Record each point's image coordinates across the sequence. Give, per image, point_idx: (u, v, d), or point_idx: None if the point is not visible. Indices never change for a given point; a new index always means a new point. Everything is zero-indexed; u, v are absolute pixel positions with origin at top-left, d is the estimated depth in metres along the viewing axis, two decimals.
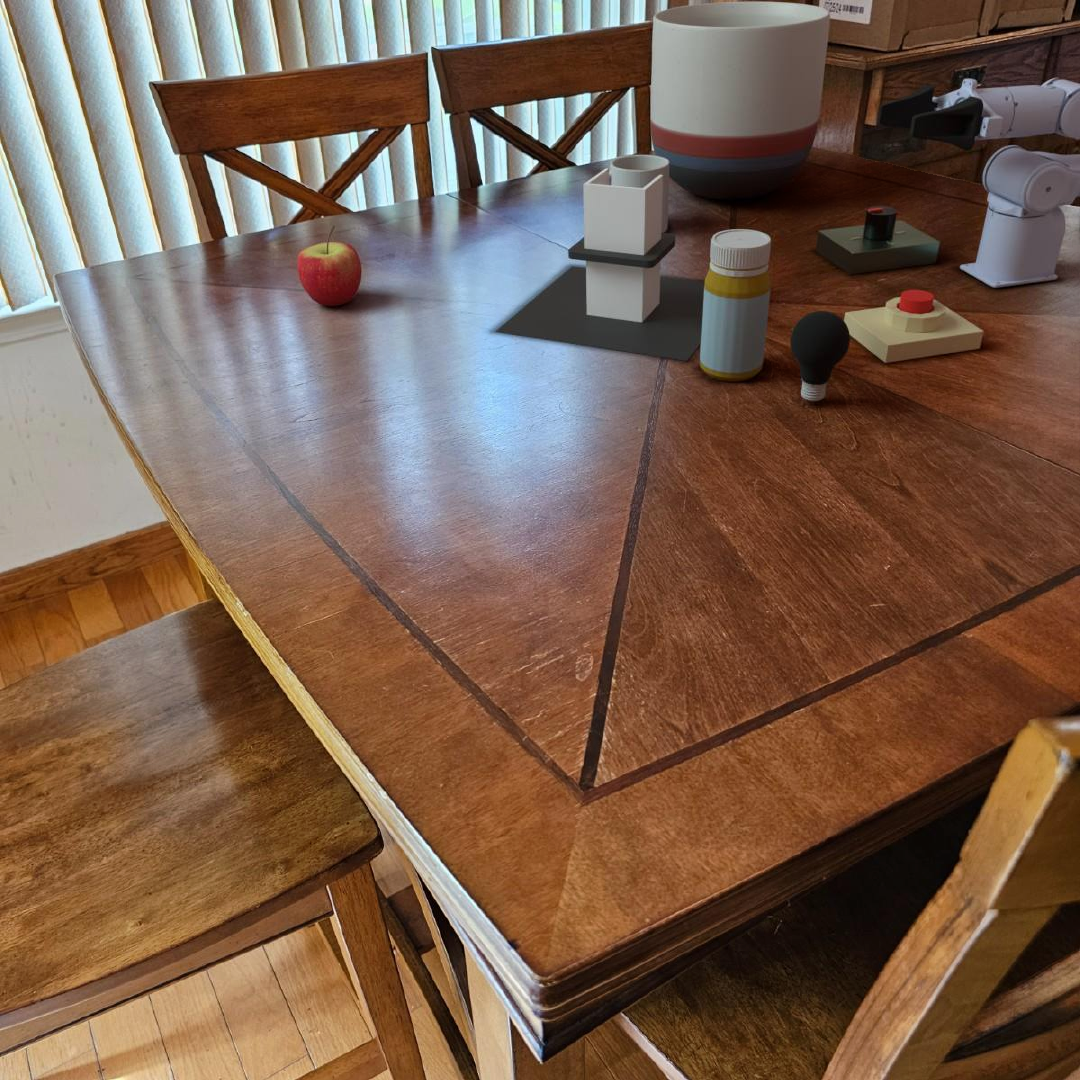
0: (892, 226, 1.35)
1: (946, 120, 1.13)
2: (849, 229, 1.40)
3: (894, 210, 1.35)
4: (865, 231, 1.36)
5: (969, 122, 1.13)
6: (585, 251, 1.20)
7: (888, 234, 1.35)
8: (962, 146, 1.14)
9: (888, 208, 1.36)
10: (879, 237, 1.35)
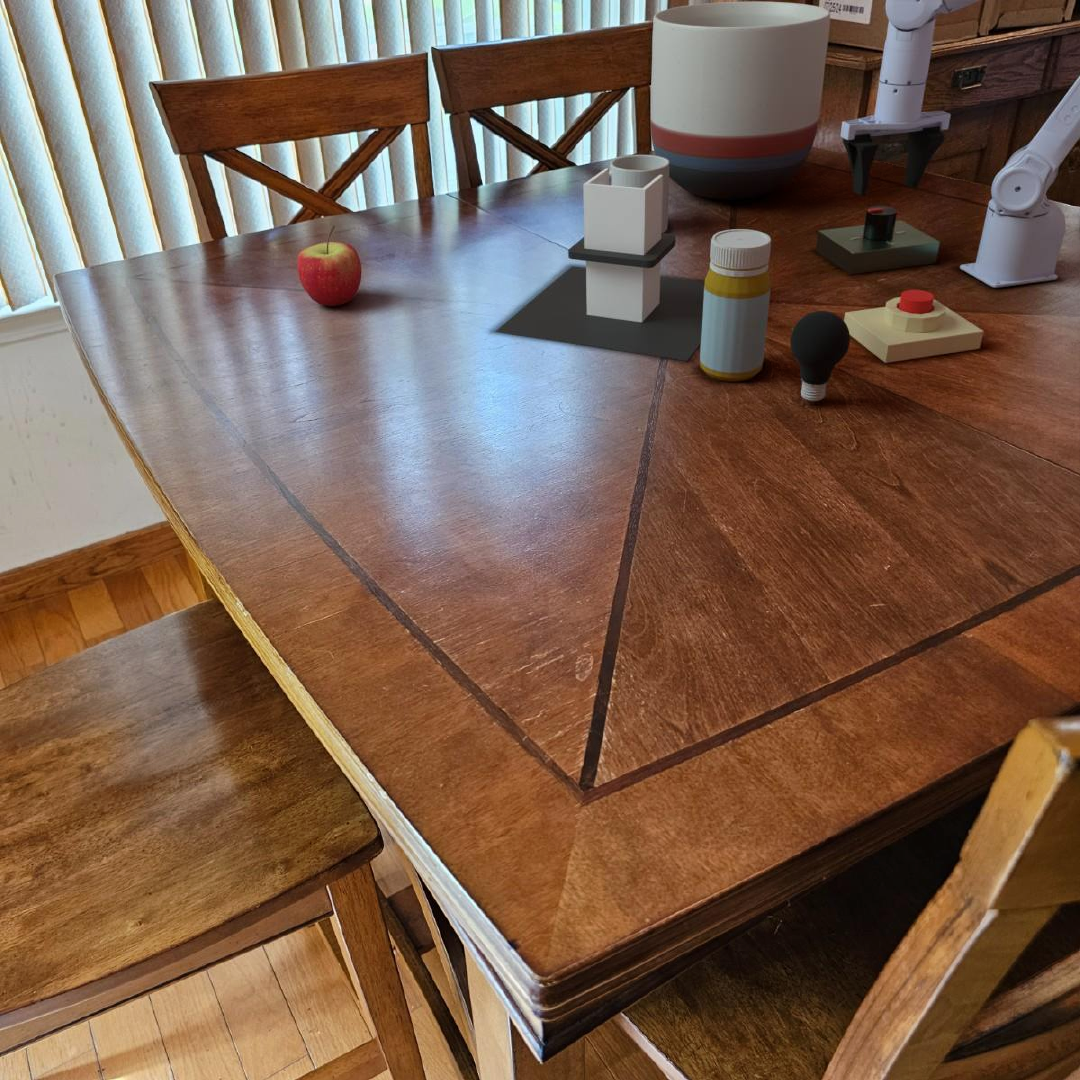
0: (892, 226, 1.35)
1: (858, 162, 1.31)
2: (849, 229, 1.40)
3: (894, 210, 1.35)
4: (865, 231, 1.36)
5: None
6: (585, 251, 1.20)
7: (888, 234, 1.35)
8: (861, 153, 1.28)
9: (888, 208, 1.36)
10: (879, 237, 1.35)
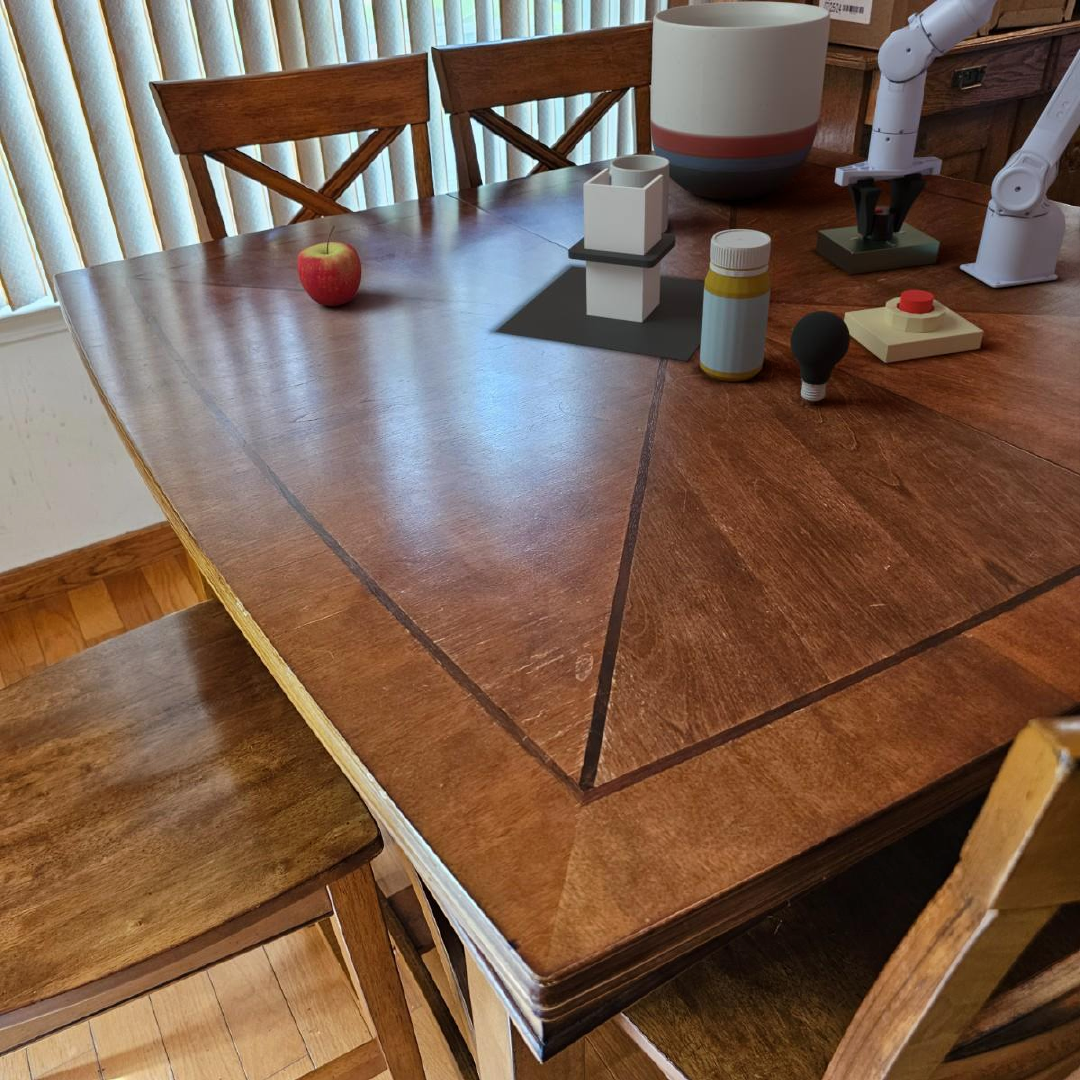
0: (892, 226, 1.35)
1: (862, 205, 1.35)
2: (849, 229, 1.40)
3: (894, 210, 1.35)
4: None
5: None
6: (585, 251, 1.20)
7: (888, 234, 1.35)
8: (865, 198, 1.31)
9: (888, 208, 1.36)
10: (879, 237, 1.35)
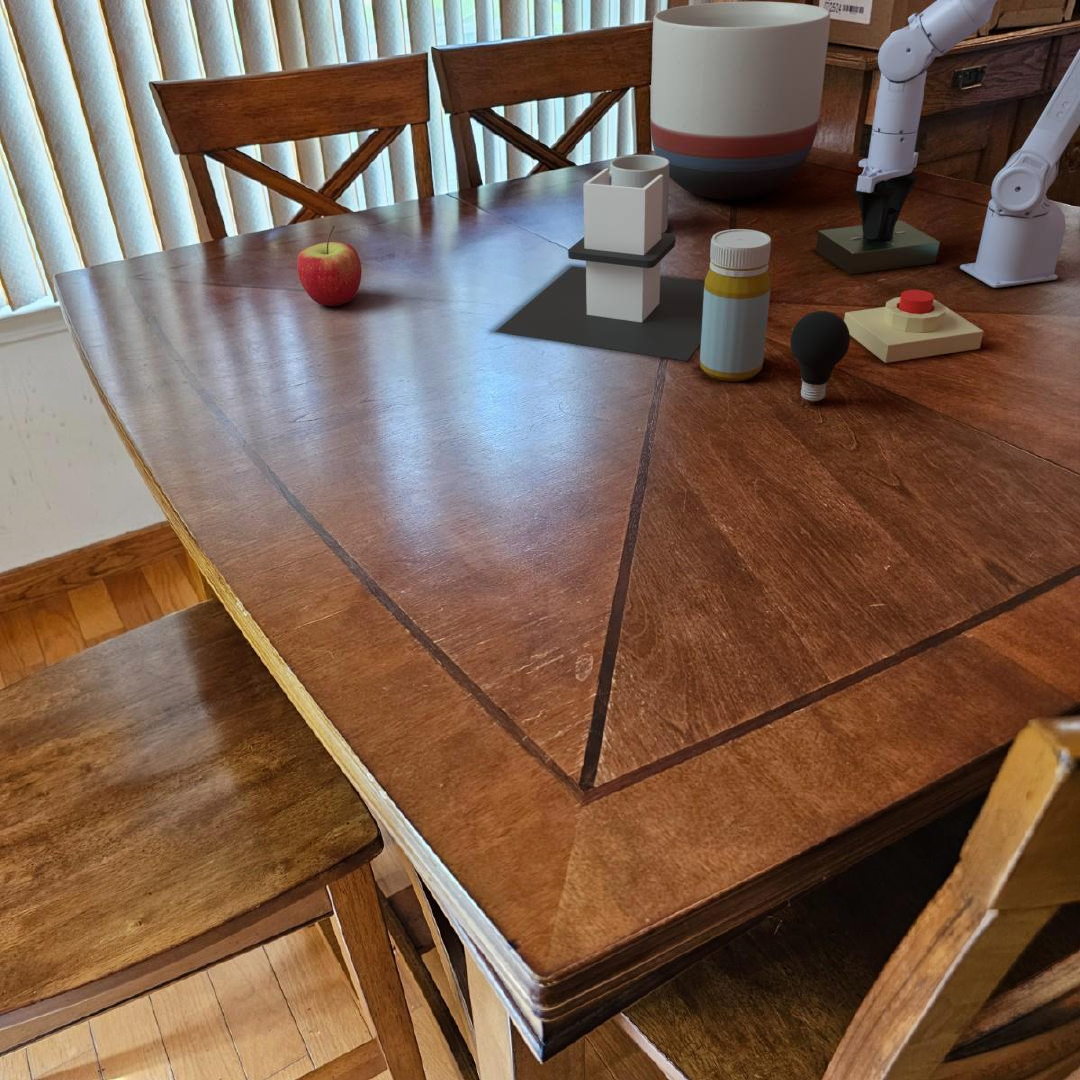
0: None
1: (870, 208, 1.33)
2: (849, 229, 1.40)
3: (891, 208, 1.36)
4: None
5: None
6: (585, 251, 1.20)
7: (893, 232, 1.36)
8: (887, 200, 1.30)
9: None
10: (887, 236, 1.35)
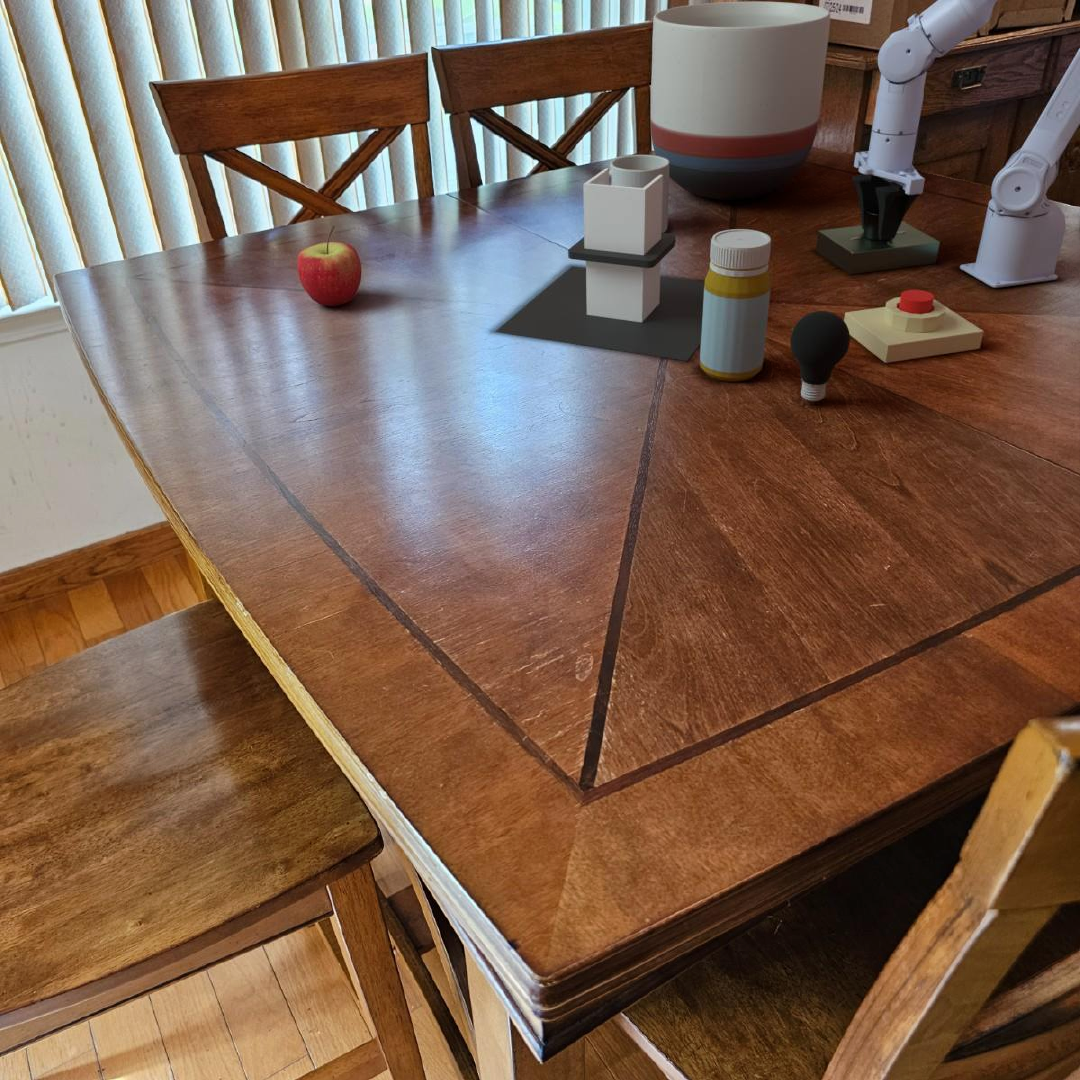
0: None
1: (889, 211, 1.32)
2: (849, 229, 1.40)
3: None
4: None
5: None
6: (585, 251, 1.20)
7: None
8: (915, 198, 1.31)
9: (874, 208, 1.36)
10: None
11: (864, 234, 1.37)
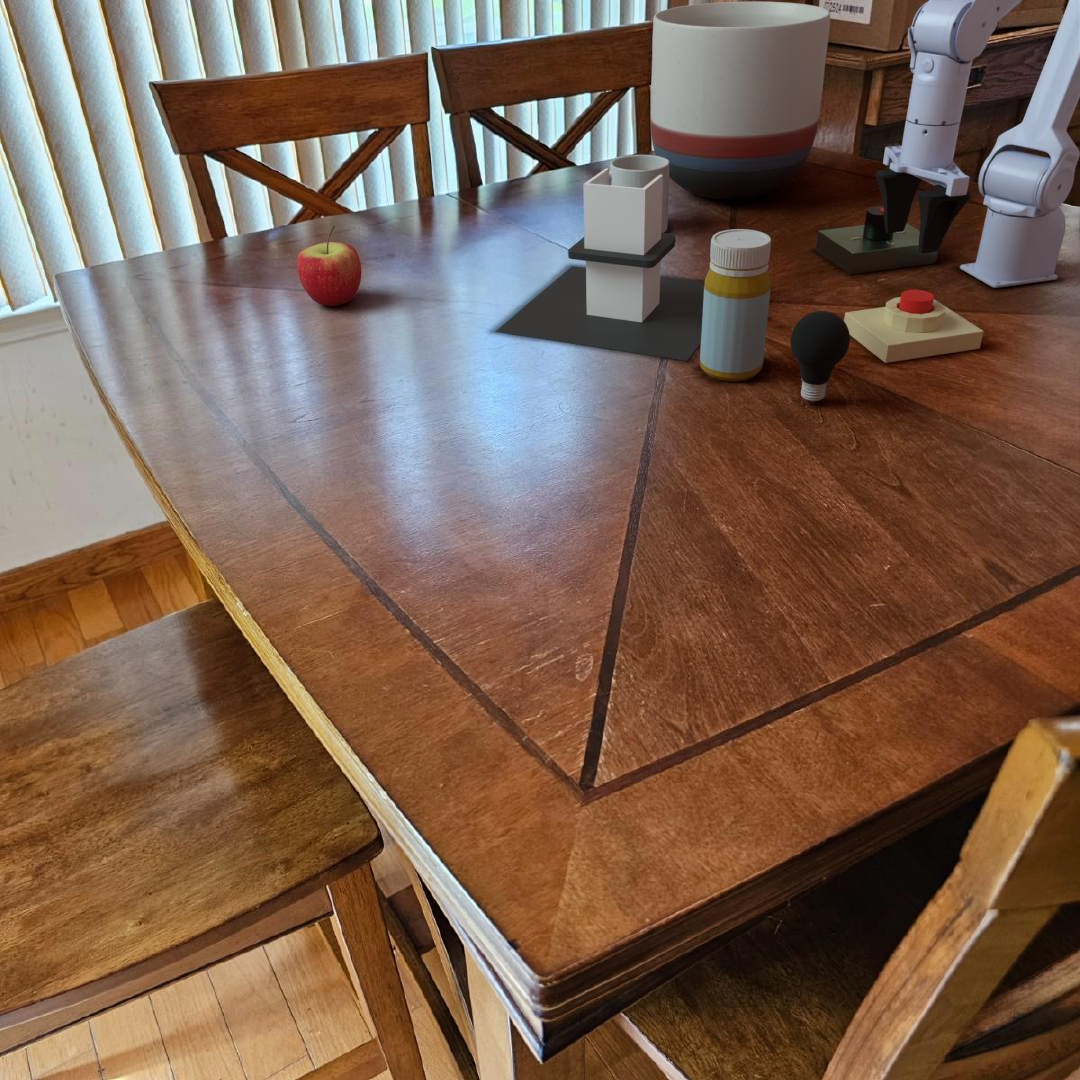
0: None
1: (933, 219, 1.11)
2: (849, 229, 1.40)
3: (880, 206, 1.36)
4: (885, 234, 1.35)
5: None
6: (585, 251, 1.20)
7: None
8: None
9: (874, 208, 1.36)
10: (893, 233, 1.37)
11: (864, 234, 1.37)
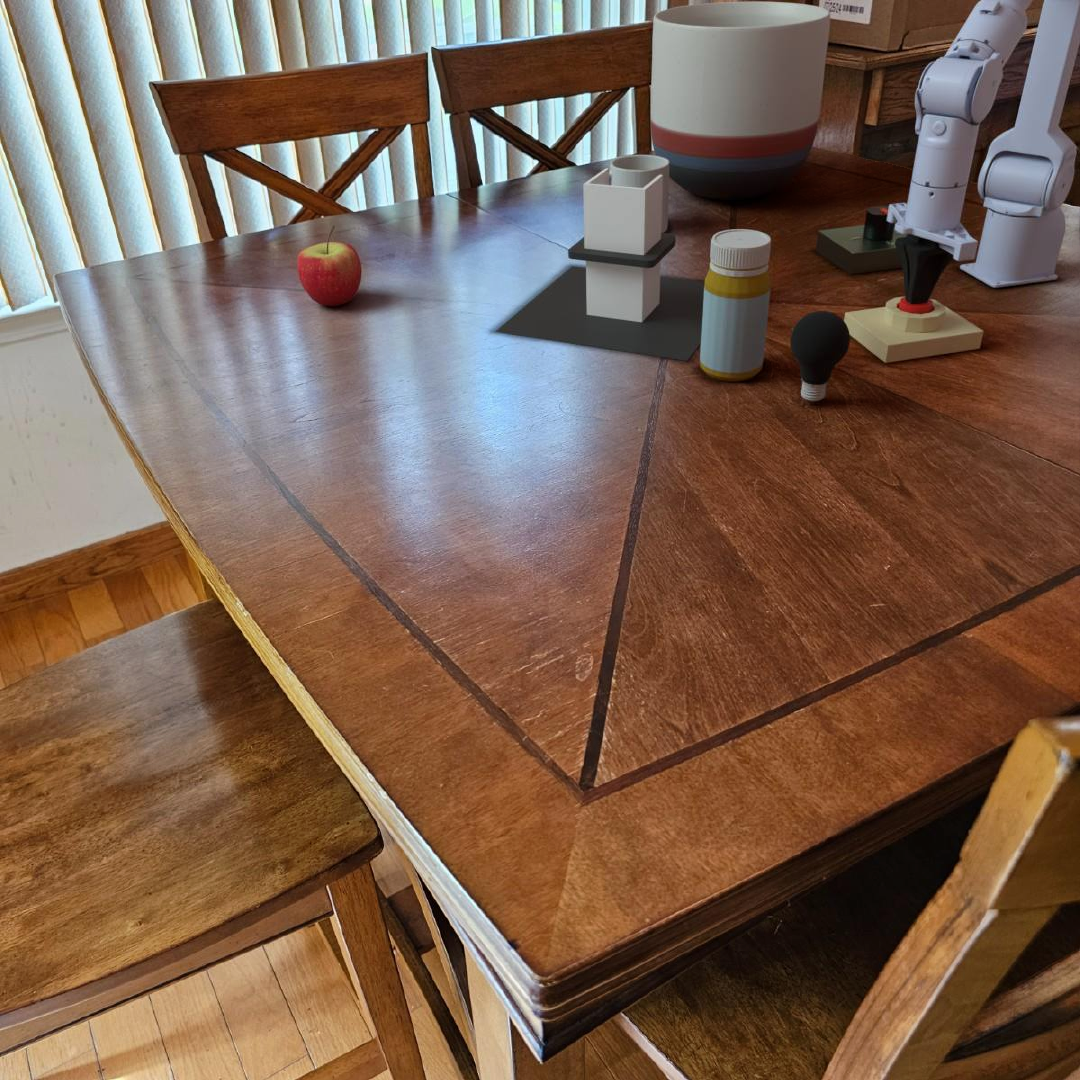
0: None
1: (922, 271, 1.11)
2: (849, 229, 1.40)
3: (880, 206, 1.36)
4: (885, 234, 1.35)
5: None
6: (585, 251, 1.20)
7: None
8: None
9: (874, 208, 1.36)
10: (893, 233, 1.37)
11: (864, 234, 1.37)
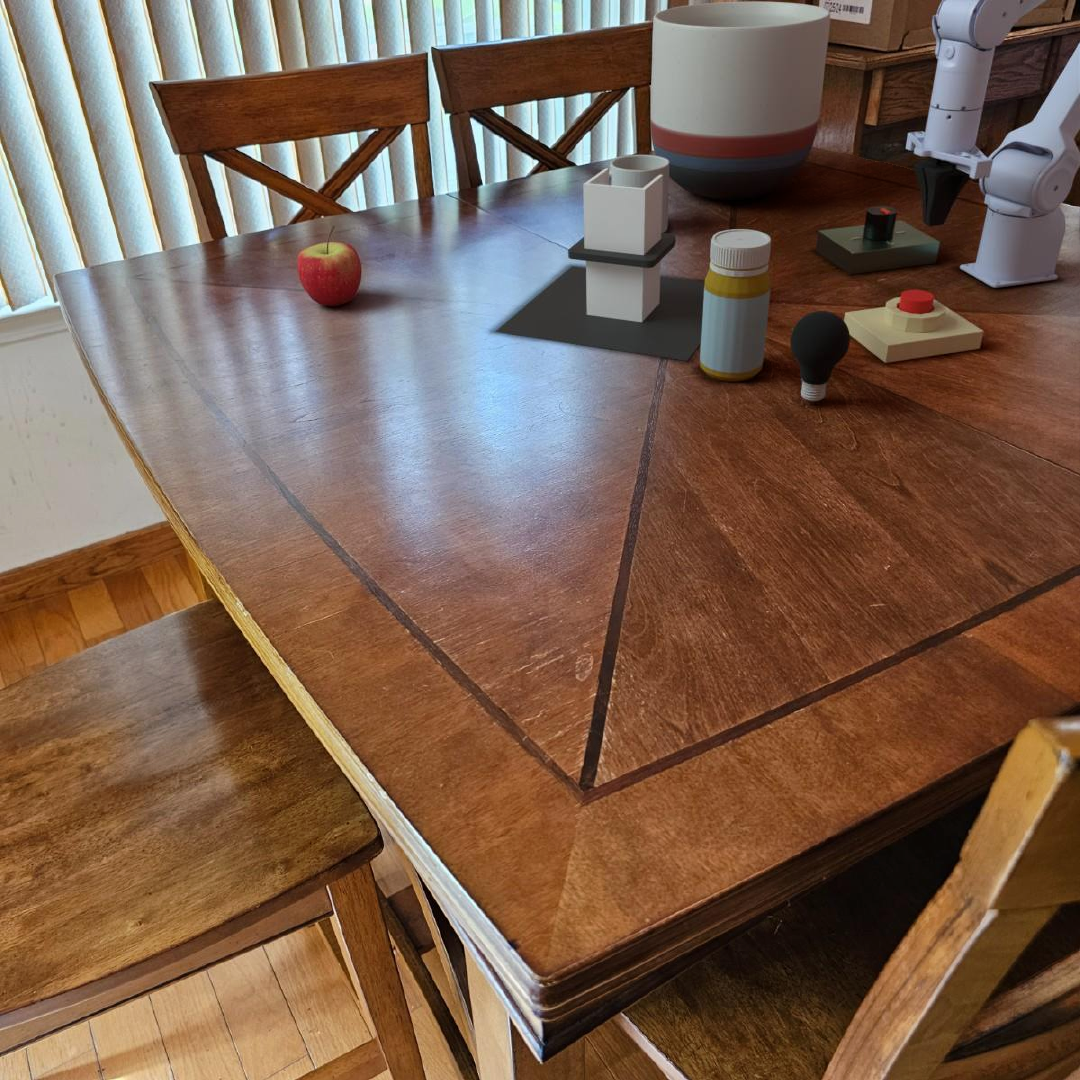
0: None
1: (939, 193, 1.18)
2: (849, 229, 1.40)
3: (880, 206, 1.36)
4: (885, 234, 1.35)
5: None
6: (585, 251, 1.20)
7: None
8: (969, 178, 1.17)
9: (874, 208, 1.36)
10: (893, 233, 1.37)
11: (864, 234, 1.37)
